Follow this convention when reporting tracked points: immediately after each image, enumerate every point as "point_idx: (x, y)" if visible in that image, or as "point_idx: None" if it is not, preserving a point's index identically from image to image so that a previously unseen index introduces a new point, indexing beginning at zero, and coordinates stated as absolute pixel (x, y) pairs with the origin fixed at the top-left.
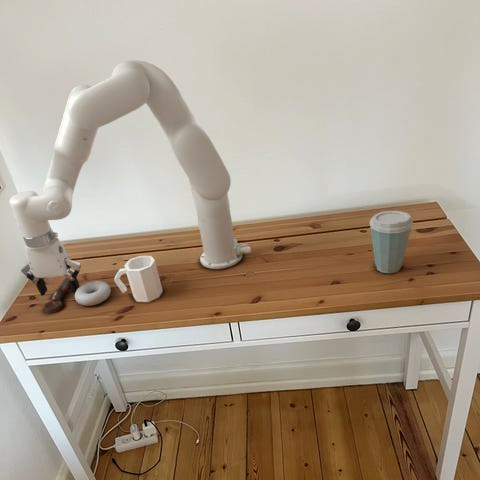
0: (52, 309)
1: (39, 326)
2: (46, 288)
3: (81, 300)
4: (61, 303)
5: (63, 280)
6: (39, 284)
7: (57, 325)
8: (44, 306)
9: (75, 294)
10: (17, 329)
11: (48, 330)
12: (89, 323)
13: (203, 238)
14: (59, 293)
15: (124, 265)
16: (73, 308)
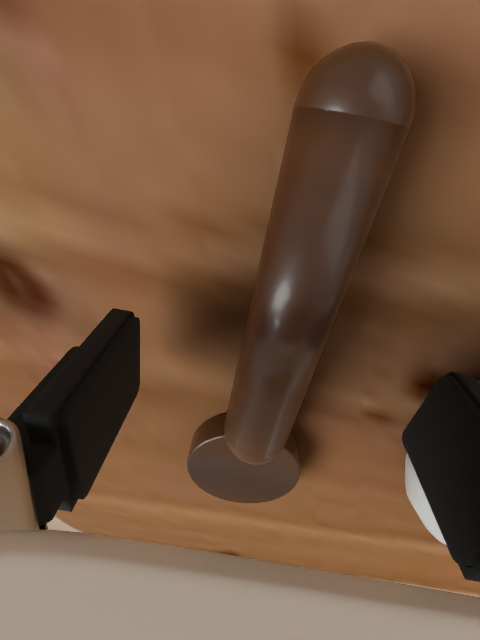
0: (251, 501)
1: (205, 532)
2: (131, 333)
3: None
4: (299, 468)
5: (304, 198)
6: (85, 495)
7: (289, 546)
8: (191, 472)
9: (432, 514)
10: (106, 521)
11: (254, 556)
12: (432, 571)
13: None
14: (286, 430)
15: None
16: (366, 478)
